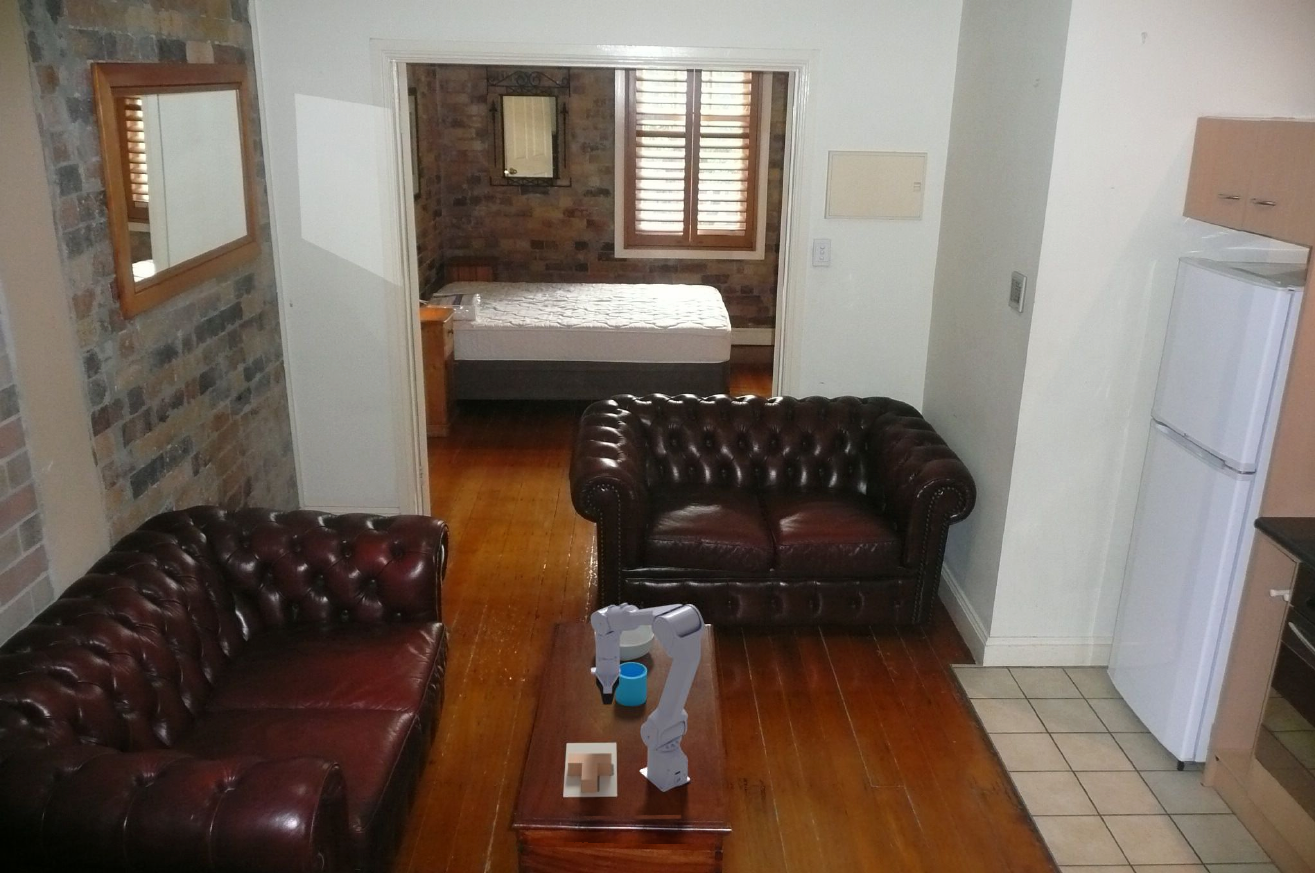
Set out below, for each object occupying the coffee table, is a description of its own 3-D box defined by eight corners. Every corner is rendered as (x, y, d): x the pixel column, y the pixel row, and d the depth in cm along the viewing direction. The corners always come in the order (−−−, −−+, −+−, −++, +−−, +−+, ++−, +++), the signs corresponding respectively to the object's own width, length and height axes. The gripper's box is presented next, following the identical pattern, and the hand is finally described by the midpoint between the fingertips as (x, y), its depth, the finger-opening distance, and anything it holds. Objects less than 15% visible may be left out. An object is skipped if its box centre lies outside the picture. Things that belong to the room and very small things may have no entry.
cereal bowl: (665, 649, 291) (665, 627, 289) (633, 675, 278) (633, 652, 275) (616, 632, 300) (616, 611, 297) (582, 657, 286) (582, 634, 284)
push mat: (566, 745, 247) (566, 743, 247) (616, 744, 248) (616, 742, 248) (563, 799, 228) (563, 796, 228) (617, 798, 229) (617, 796, 229)
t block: (568, 766, 238) (568, 753, 237) (611, 765, 239) (611, 753, 238) (567, 792, 229) (566, 779, 228) (611, 792, 230) (611, 779, 229)
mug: (643, 708, 263) (644, 680, 261) (612, 704, 264) (613, 677, 262) (650, 683, 274) (651, 656, 272) (621, 680, 275) (621, 653, 273)
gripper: (591, 638, 250) (591, 686, 255) (590, 669, 237) (590, 720, 241) (620, 638, 251) (619, 686, 255) (621, 669, 237) (620, 720, 241)
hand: (607, 703), depth 248 cm, fingers closed
